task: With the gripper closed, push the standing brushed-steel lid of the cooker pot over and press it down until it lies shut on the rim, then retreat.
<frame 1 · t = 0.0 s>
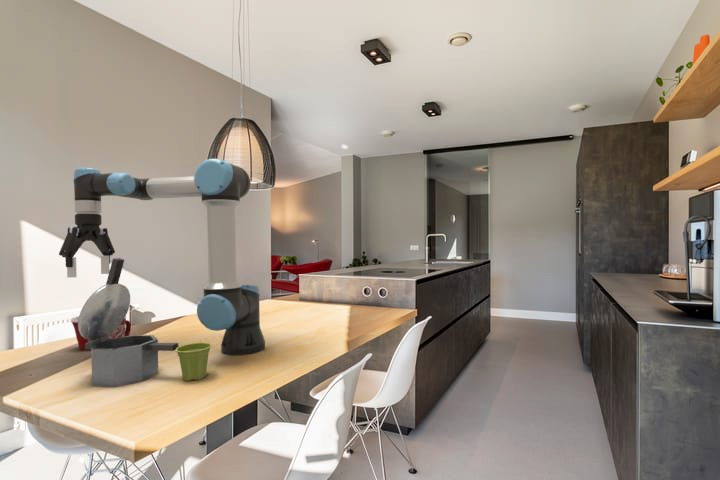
hand: (89, 275, 134), 28 cm above the table, fingers open, 13 cm apart
cooker pot: (125, 376, 113), on the table
lid: (106, 300, 114), point 22 cm above the table, hinge at 72.0°
plant pot: (194, 378, 111), on the table
plastic cup: (88, 348, 145), on the table
mug: (115, 358, 132), on the table
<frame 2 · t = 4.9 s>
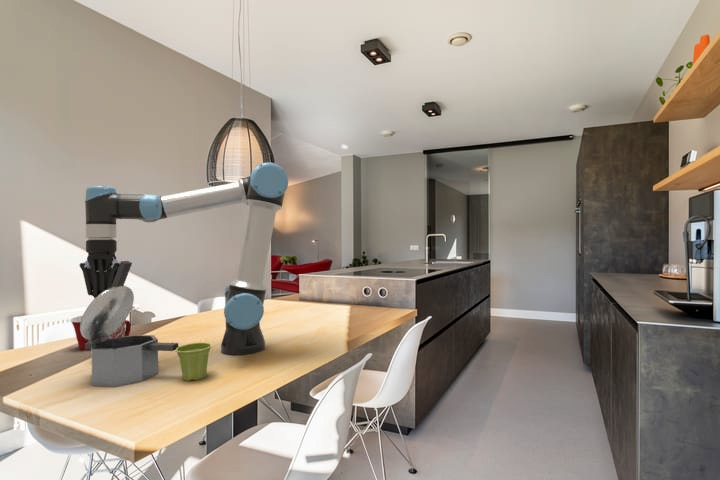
hand: (102, 319, 114), 16 cm above the table, fingers closed
lid: (110, 301, 114), point 22 cm above the table, hinge at 65.7°, touching gripper
everything else where it was.
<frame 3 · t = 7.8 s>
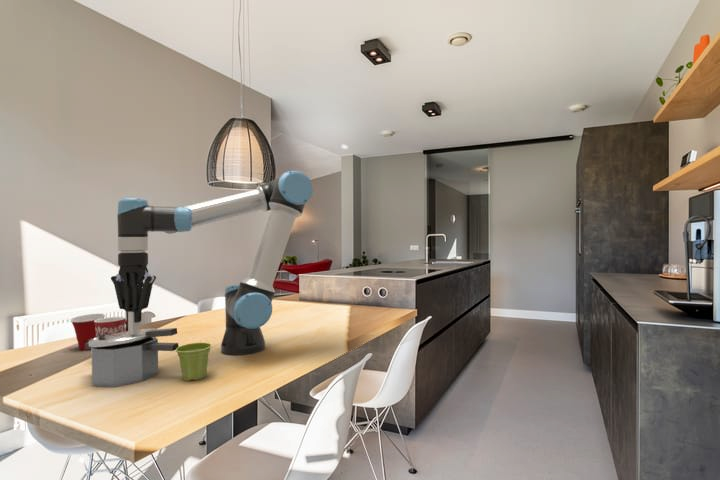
hand: (133, 333, 112), 12 cm above the table, fingers closed
lid: (134, 333, 112), point 12 cm above the table, hinge at 4.9°, touching gripper
everything else where it was.
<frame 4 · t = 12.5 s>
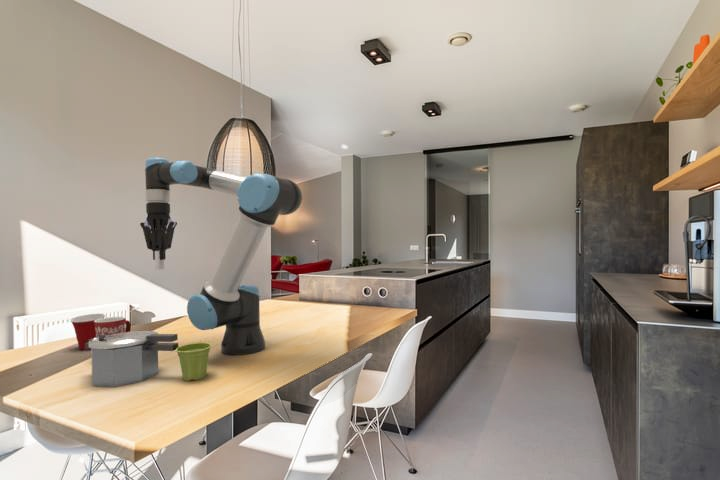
hand: (159, 269, 138), 29 cm above the table, fingers closed
lid: (134, 336, 112), point 11 cm above the table, hinge at 0.8°
everything else where it was.
at the end: lid at +1° (first picture: +72°) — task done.
